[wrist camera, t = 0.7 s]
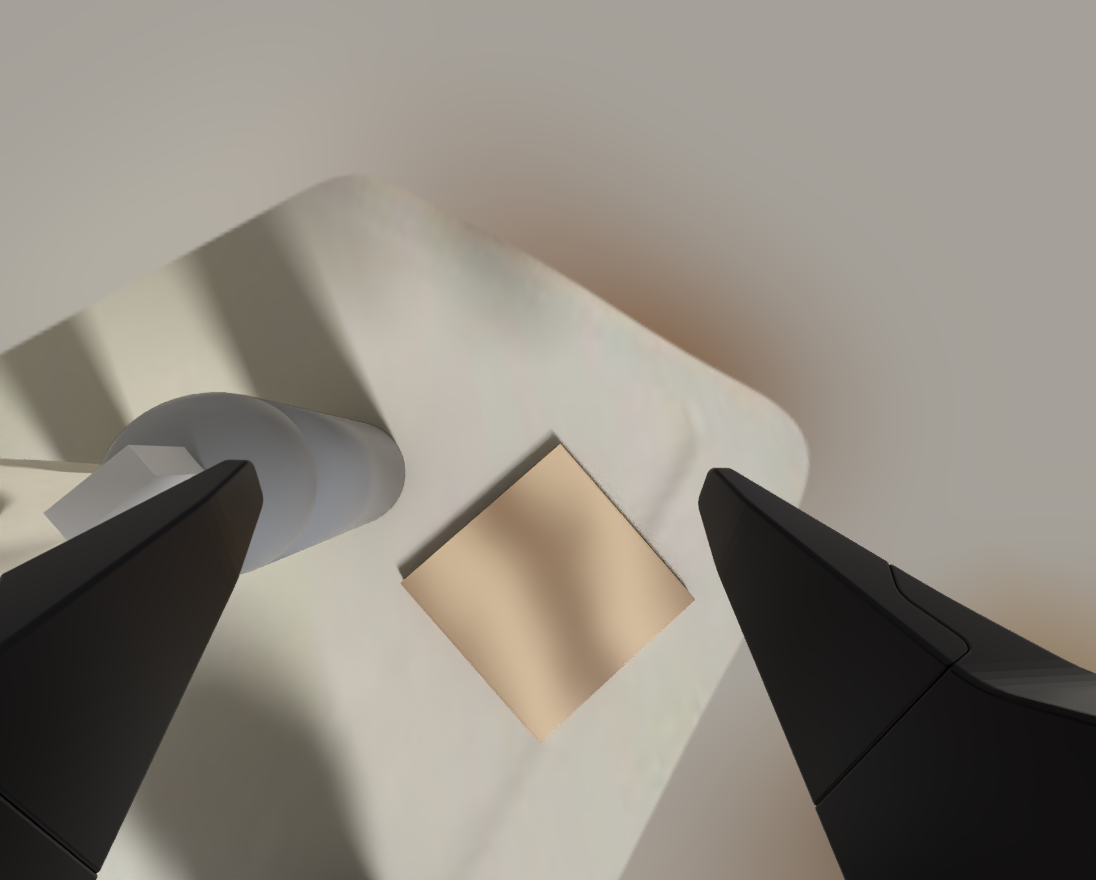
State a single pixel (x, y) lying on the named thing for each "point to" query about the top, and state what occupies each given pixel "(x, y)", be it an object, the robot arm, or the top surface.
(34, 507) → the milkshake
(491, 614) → the cork mat
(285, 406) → the grey bottle
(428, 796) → the top surface
